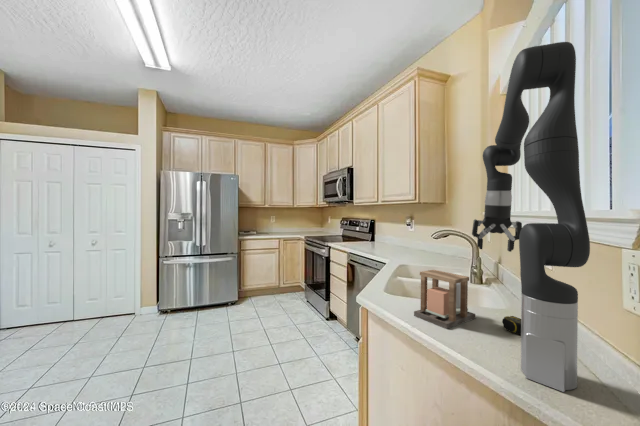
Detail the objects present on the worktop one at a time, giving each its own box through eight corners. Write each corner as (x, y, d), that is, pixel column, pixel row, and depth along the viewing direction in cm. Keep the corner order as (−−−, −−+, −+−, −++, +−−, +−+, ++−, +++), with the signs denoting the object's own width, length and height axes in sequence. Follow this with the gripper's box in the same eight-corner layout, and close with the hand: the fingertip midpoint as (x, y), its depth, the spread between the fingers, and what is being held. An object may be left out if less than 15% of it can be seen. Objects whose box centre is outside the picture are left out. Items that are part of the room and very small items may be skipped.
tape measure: (536, 335, 77) (536, 322, 77) (519, 338, 75) (520, 325, 75) (513, 325, 83) (513, 314, 83) (497, 328, 81) (497, 316, 81)
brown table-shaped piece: (448, 329, 79) (448, 281, 79) (412, 315, 90) (413, 272, 91) (476, 318, 88) (477, 275, 88) (441, 306, 99) (441, 268, 99)
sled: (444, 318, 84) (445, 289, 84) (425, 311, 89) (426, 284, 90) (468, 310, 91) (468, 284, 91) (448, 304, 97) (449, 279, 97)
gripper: (475, 204, 89) (473, 250, 91) (526, 205, 84) (523, 254, 85) (472, 202, 96) (470, 246, 98) (519, 203, 90) (516, 249, 92)
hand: (494, 249), depth 91 cm, fingers open, 8 cm apart
